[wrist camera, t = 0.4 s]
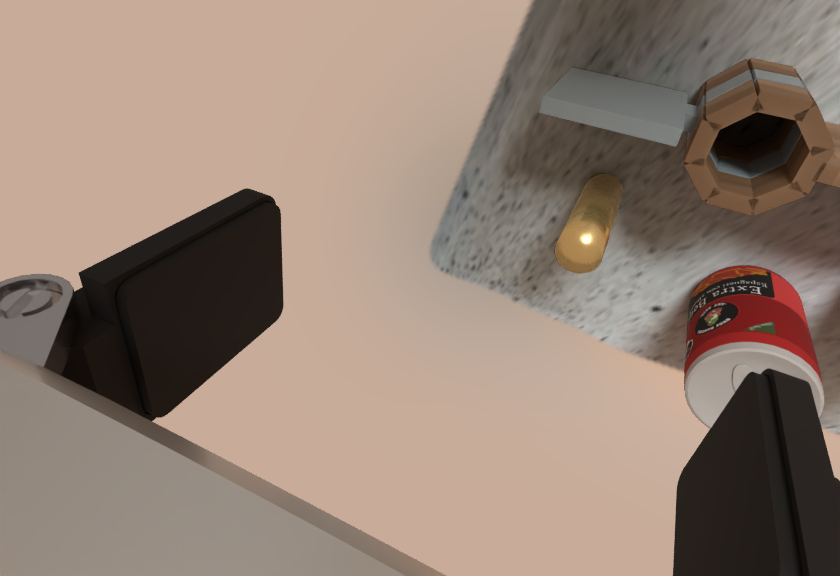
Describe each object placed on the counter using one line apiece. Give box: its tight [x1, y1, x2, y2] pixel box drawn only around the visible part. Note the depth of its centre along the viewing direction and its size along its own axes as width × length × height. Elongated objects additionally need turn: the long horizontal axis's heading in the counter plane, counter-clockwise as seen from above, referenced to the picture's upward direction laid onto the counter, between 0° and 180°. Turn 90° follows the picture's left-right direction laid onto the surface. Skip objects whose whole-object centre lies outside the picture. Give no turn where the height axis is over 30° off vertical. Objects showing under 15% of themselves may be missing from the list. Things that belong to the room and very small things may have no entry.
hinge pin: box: [555, 174, 623, 273], centre depth 38 cm, size 3×3×10 cm
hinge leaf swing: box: [539, 67, 808, 179], centre depth 33 cm, size 6×15×9 cm, turn 83°
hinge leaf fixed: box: [684, 58, 840, 215], centre depth 30 cm, size 6×16×9 cm, turn 83°
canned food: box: [684, 266, 824, 429], centre depth 38 cm, size 8×8×11 cm
